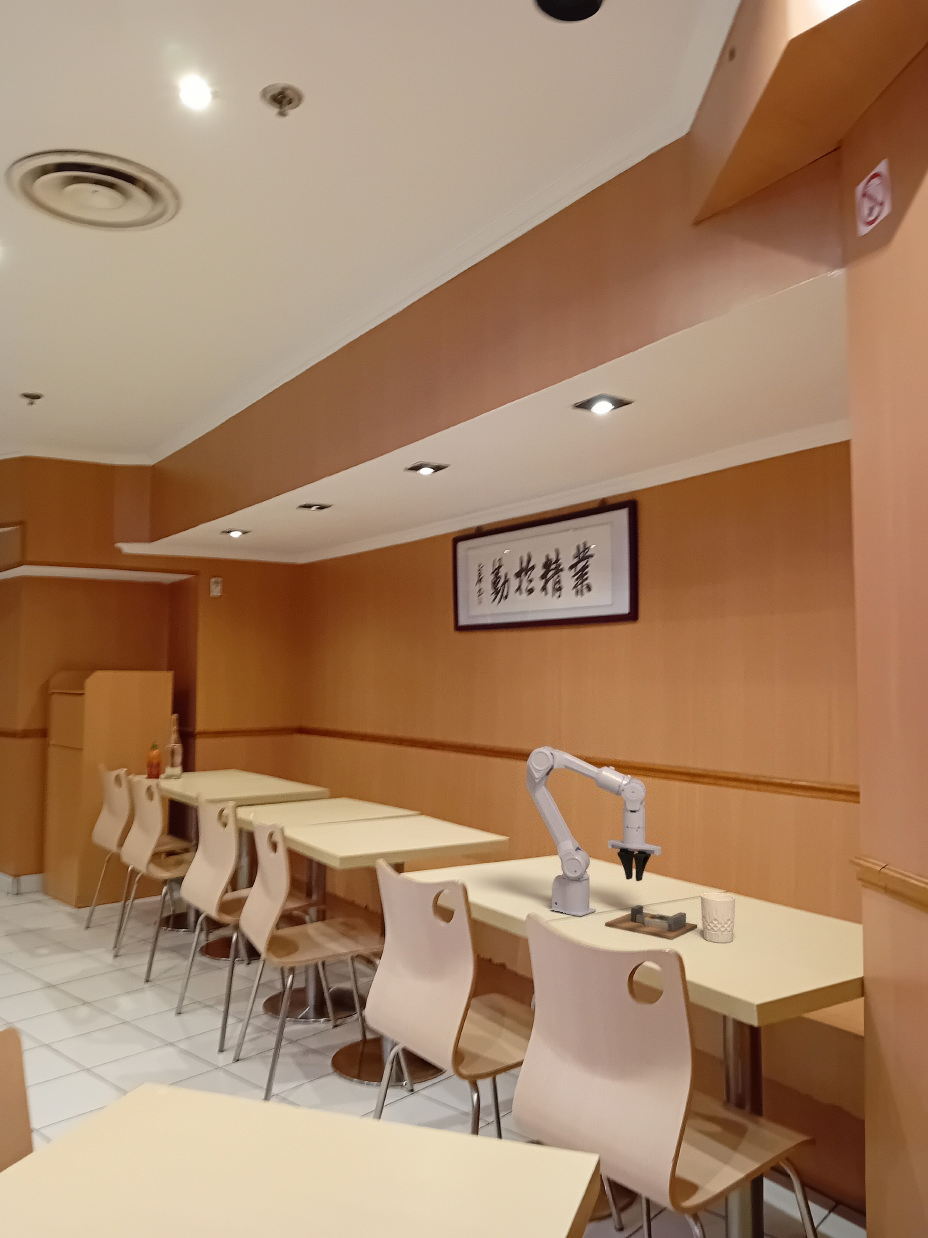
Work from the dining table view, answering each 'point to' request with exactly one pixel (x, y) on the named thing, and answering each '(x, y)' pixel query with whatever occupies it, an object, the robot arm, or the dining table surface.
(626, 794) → the robot arm
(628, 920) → the walnut board
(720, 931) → the white cup
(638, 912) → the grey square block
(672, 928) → the gauge body
